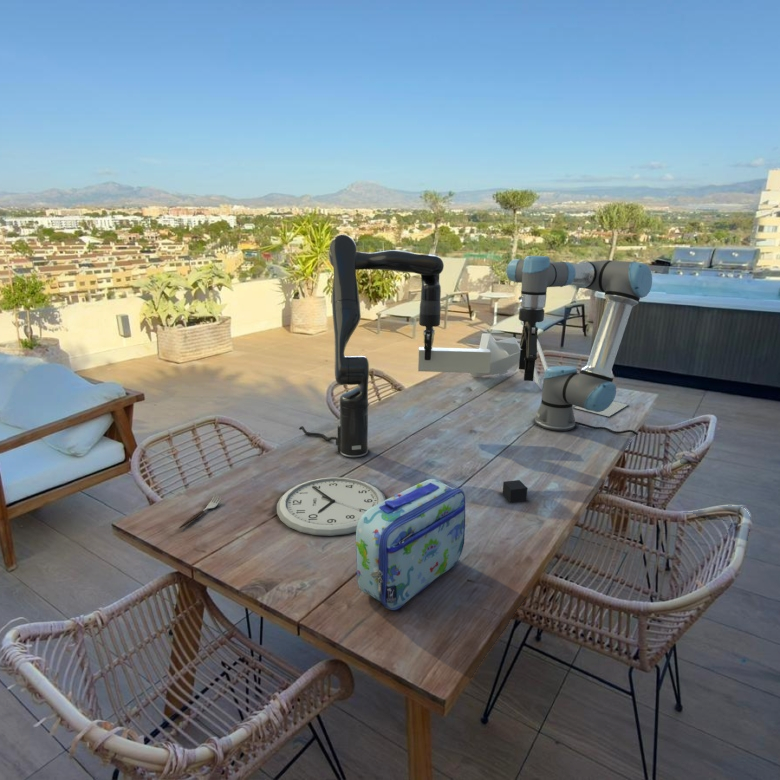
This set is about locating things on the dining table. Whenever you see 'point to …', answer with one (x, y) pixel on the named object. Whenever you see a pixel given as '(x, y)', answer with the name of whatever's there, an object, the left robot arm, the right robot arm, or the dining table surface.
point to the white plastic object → (506, 355)
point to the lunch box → (409, 541)
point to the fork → (209, 506)
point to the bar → (455, 360)
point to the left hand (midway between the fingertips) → (427, 357)
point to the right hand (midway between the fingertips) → (525, 374)
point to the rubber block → (514, 491)
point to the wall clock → (327, 505)
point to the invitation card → (608, 409)
